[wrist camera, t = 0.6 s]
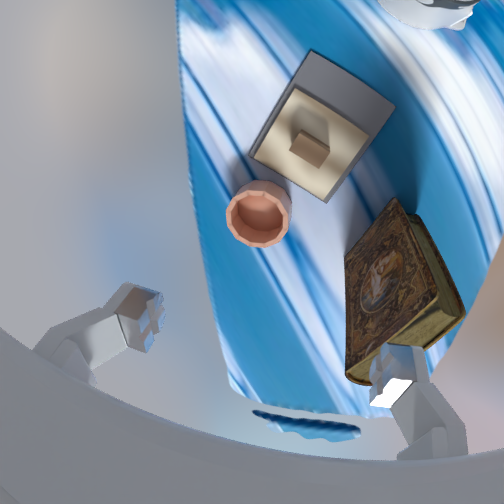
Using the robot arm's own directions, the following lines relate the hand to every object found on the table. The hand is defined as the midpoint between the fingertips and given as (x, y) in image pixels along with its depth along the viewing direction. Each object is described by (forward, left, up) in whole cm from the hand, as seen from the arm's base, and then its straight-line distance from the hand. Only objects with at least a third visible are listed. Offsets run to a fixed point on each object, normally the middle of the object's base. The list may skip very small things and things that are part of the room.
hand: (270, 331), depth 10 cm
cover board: (+2, 0, -39) cm, 39 cm away
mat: (-1, 0, -39) cm, 39 cm away
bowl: (+16, -1, -39) cm, 42 cm away
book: (+9, +19, -39) cm, 45 cm away
